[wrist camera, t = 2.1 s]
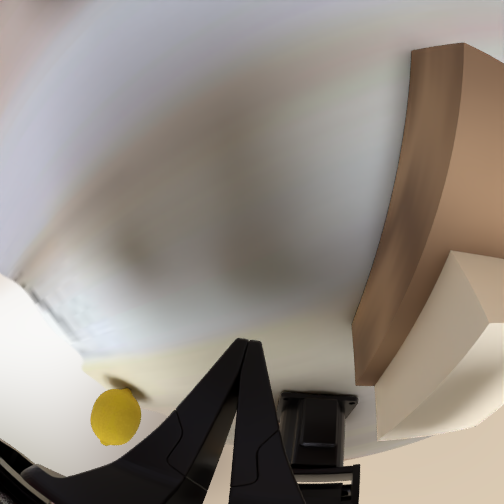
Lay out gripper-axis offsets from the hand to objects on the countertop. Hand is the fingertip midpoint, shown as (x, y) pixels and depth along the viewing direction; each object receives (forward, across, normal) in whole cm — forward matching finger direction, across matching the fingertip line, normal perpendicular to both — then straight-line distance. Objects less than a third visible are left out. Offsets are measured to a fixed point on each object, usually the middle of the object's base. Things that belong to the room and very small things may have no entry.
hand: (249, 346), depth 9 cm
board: (+5, -10, -3) cm, 12 cm away
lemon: (+5, +15, +21) cm, 26 cm away
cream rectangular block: (0, -9, 0) cm, 9 cm away
